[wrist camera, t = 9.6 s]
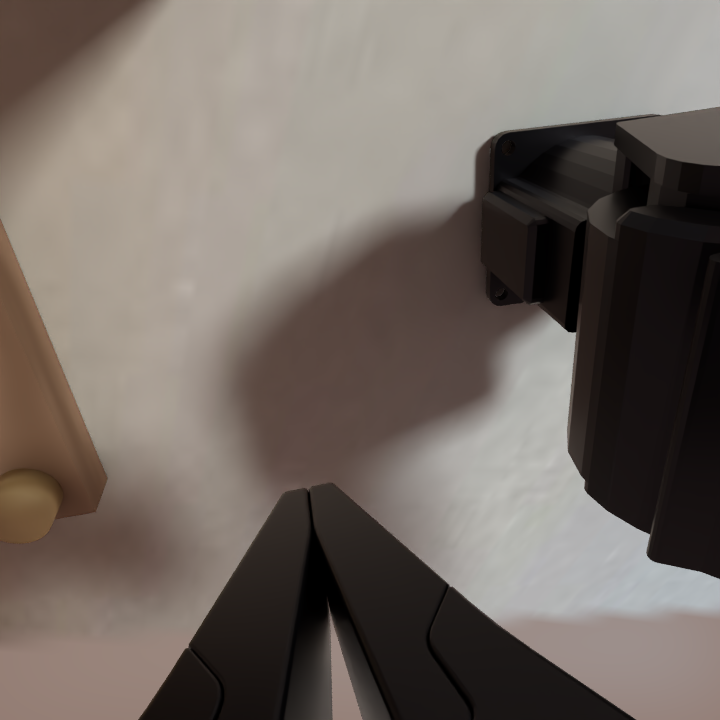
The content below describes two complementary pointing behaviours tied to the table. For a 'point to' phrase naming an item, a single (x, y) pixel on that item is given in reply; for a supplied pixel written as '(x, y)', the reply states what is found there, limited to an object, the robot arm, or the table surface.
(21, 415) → the wooden base with pillar
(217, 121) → the table surface
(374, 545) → the robot arm
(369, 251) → the table surface
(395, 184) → the table surface
